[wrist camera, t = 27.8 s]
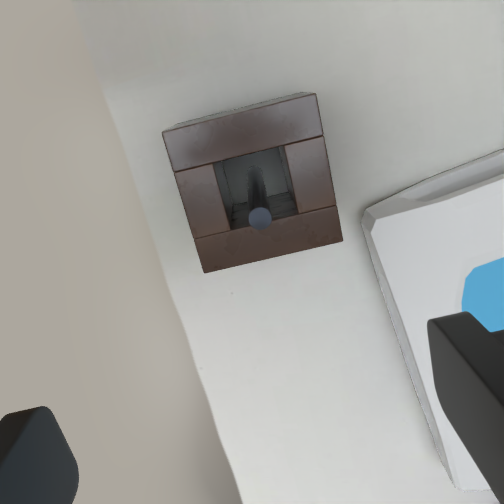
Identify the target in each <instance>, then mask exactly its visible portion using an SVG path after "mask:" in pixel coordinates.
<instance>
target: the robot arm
mask: <svg viewBox="0 0 504 504" xmlns="http://www.w3.org/2000/svg"><path fill="white" fill-rule="evenodd" d="M427 334H428V341H429V349H430V356H431V364H432V371H433V379H434V385H435V390H436V394H437V397H438V400H439V402H440V405H441V407H442V410H443V412H444V414H445V415H446V417H447V419H448V420H449V422H450V424H451V425H452V427H453V428H454V430H455V432H456V433H457V435H458V436H459V438H460V440H461V441H462V443H463V444H464V446H465V448H466V449H467V451H468V453H469V454H470V456H471V457H472V459H473V461H474V462H475V464H476V465H477V467H478V469H479V470H480V472H481V473H482V475H483V477H484V478H485V480H486V481H487V483H488V485H489V486H490V488H491V490H492V491H493V493H494V494H495V496H496V498H497V499H498V501H499V502H500V504H504V330H499V331H495V332H489V331H488V330H487V329H486V328H485V327H484V326H483V325H482V324H481V323H480V322H479V321H478V320H477V319H476V318H475V317H474V316H473V315H472V314H471V313H470V312H468V311H464V312H460V313H455V314H451V315H446V316H442V317H437V318H433V319H429V320H428V322H427ZM78 482H79V473H78V466H77V463H76V460H75V458H74V456H73V454H72V451H71V449H70V447H69V445H68V443H67V441H66V439H65V437H64V435H63V433H62V431H61V429H60V427H59V425H58V423H57V421H56V419H55V417H54V415H53V413H52V411H51V410H50V409H49V408H47V407H45V406H40V407H36V408H32V409H28V410H23V411H18V412H14V413H9V414H7V415H5V416H4V417H3V418H2V419H1V421H0V504H72V502H73V500H74V498H75V495H76V492H77V488H78Z"/></svg>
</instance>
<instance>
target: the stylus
mask: <svg viewBox="0 0 504 504" xmlns="http://www.w3.org/2000/svg"><path fill="white" fill-rule="evenodd" d="M247 195H248V221H249V224H250V225H251V226H252V227H253V228H254V229H257V230H263V229H266V228H267V227H269V225H270V224H271V222H272V215H271V210H270V206H269V201H268V196H267V192H266V187H265V183H264V178H263V173H262V170H261V168H260V167H258V166H251V167H250V168H249V169H248V170H247Z"/></svg>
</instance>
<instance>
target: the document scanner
mask: <svg viewBox="0 0 504 504" xmlns="http://www.w3.org/2000/svg"><path fill="white" fill-rule="evenodd" d="M361 225H362V228H363V232H364V235H365V238H366V242H367V245H368V248H369V252H370V255H371V259H372V262H373V265H374V269H375V272H376V275H377V279H378V282H379V285H380V288H381V291H382V294H383V297H384V300H385V303H386V306H387V309H388V312H389V315H390V318H391V321H392V324H393V327H394V330H395V332H396V335H397V338H398V341H399V344H400V347H401V350H402V353H403V356H404V359H405V362H406V365H407V368H408V371H409V374H410V377H411V380H412V383H413V386H414V389H415V391H416V394H417V397H418V400H419V402H420V404H421V406H422V408H423V410H424V413H425V416H426V419H427V422H428V425H429V428H430V430H431V433H432V436H433V439H434V442H435V445H436V447H437V450H438V453H439V456H440V459H441V462H442V464H443V466H444V468H445V470H446V472H447V474H448V475H449V477H450V479H451V481H452V483H453V485H454V486H455V488H457V489H459V490H461V491H463V492H472V491H485V490H491V488H490V486H489V485H488V483H487V481H486V480H485V478H484V477H483V475H482V473H481V472H480V470H479V469H478V467H477V465H476V464H475V462H474V461H473V459H472V457H471V456H470V454H469V453H468V451H467V449H466V448H465V446H464V444H463V443H462V441H461V440H460V438H459V436H458V435H457V433H456V432H455V430H454V428H453V427H452V425H451V424H450V422H449V420H448V419H447V417H446V415H445V414H444V412H443V410H442V407H441V405H440V402H439V400H438V397H437V394H436V390H435V385H434V379H433V371H432V364H431V356H430V349H429V341H428V334H427V322H428V320H429V319H433V318H437V317H442V316H446V315H451V314H455V313H460V312H464V311H468V312H470V313H471V314H472V315H473V316H474V317H475V318H476V319H477V320H478V321H479V322H480V323H481V324H482V325H483V326H484V327H485V328H486V329H487V330H488V331H489V332H495V331H499V330H504V149H502V150H500V151H497V152H495V153H492V154H489V155H487V156H484V157H482V158H479V159H477V160H474V161H472V162H469V163H466V164H464V165H461V166H459V167H456V168H454V169H451V170H448V171H446V172H443V173H441V174H438V175H436V176H433V177H430V178H428V179H426V180H424V181H422V182H420V183H418V184H416V185H414V186H412V187H410V188H408V189H406V190H403V191H401V192H399V193H397V194H395V195H393V196H391V197H389V198H387V199H385V200H383V201H381V202H379V203H377V204H375V205H373V206H371V207H369V208H367V209H366V210H365V212H364V215H363V217H362V220H361Z"/></svg>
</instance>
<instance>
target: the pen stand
mask: <svg viewBox="0 0 504 504" xmlns="http://www.w3.org/2000/svg"><path fill="white" fill-rule="evenodd" d="M162 136H163V139H164V143H165V146H166V149H167V153H168V156H169V159H170V162H171V166H172V169H173V172H174V176H175V179H176V182H177V186H178V189H179V192H180V196H181V199H182V202H183V206H184V209H185V212H186V216H187V219H188V222H189V225H190V229H191V232H192V235H193V238H194V242H195V245H196V249H197V252H198V255H199V258H200V262H201V265H202V268H203V272H204V273H209V272H213V271H217V270H222V269H226V268H230V267H235V266H239V265H243V264H247V263H252V262H256V261H260V260H265V259H269V258H273V257H278V256H282V255H286V254H290V253H295V252H299V251H303V250H308V249H312V248H316V247H320V246H325V245H329V244H333V243H338V242H342V241H343V237H342V231H341V226H340V220H339V215H338V210H337V206H336V199H335V193H334V188H333V183H332V177H331V172H330V166H329V161H328V155H327V150H326V145H325V139H324V136H323V128H322V123H321V117H320V112H319V106H318V101H317V96H316V93H307V92H300V93H296V94H292V95H288V96H284V97H280V98H276V99H272V100H268V101H264V102H261V103H257V104H253V105H249V106H245V107H241V108H237V109H233V110H229V111H225V112H221V113H218V114H214V115H210V116H206V117H202V118H198V119H194V120H190V121H186V122H182V123H179V124H176V125H174V126H173V127H171V128H169V129H167V130H165V131H163V132H162ZM275 147H279V150H280V155H281V159H282V164H283V169H284V173H285V178H286V182H287V187H288V191H289V192H287V193H283V194H278V195H274V196H270V197H268V201H269V206H270V210H271V215H272V222H271V224H270V225H269V227H267V228H266V229H263V230H257V229H254V228H253V227H252V226H251V225H250V224H249V221H248V202H245V203H241V204H237V205H233V203H232V199H231V195H230V191H229V187H228V184H227V180H226V176H225V172H224V168H223V165H222V161H223V160H227V159H231V158H235V157H239V156H243V155H247V154H251V153H255V152H259V151H263V150H267V149H271V148H275Z"/></svg>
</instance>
